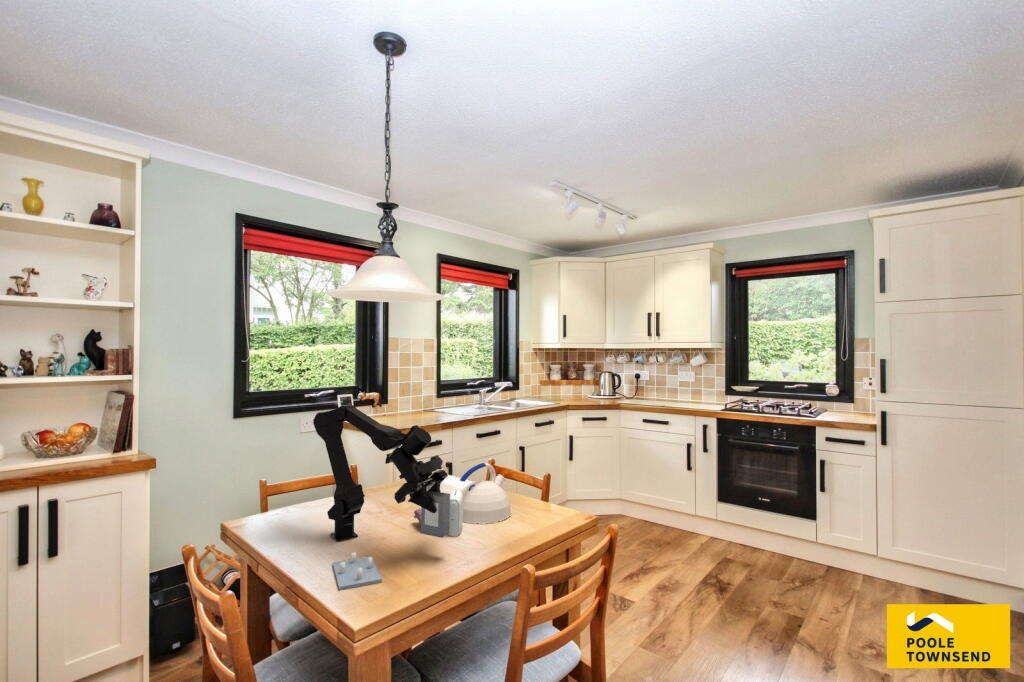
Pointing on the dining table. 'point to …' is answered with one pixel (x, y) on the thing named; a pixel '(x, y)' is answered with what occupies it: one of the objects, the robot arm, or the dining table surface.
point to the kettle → (484, 498)
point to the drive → (436, 515)
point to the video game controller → (418, 514)
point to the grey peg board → (356, 572)
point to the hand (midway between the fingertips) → (439, 510)
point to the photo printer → (456, 513)
